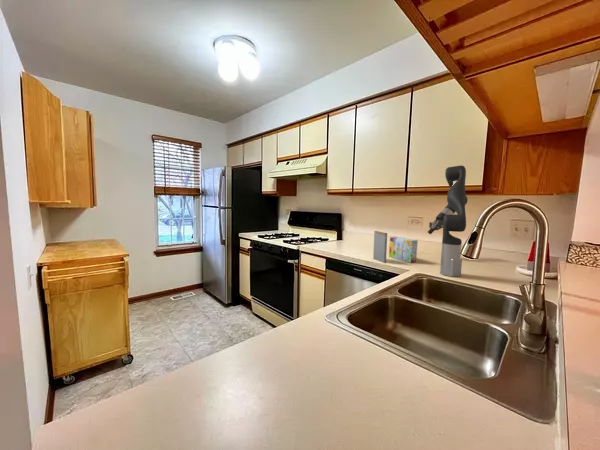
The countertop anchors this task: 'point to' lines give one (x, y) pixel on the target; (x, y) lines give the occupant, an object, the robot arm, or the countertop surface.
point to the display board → (380, 246)
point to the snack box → (403, 249)
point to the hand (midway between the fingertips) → (429, 233)
